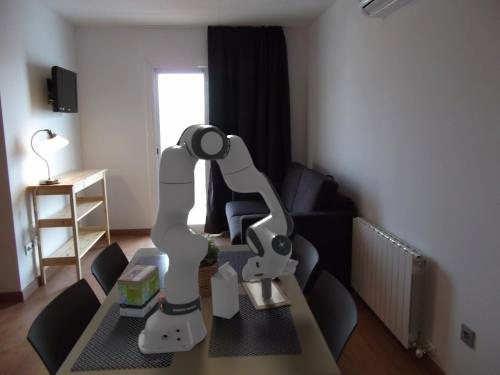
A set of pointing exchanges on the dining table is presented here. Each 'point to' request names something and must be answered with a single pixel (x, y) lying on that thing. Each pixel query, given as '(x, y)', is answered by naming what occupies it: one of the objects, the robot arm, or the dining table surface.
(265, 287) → the microphone
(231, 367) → the dining table surface
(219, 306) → the milk carton
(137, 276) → the tea box
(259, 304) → the clipboard
